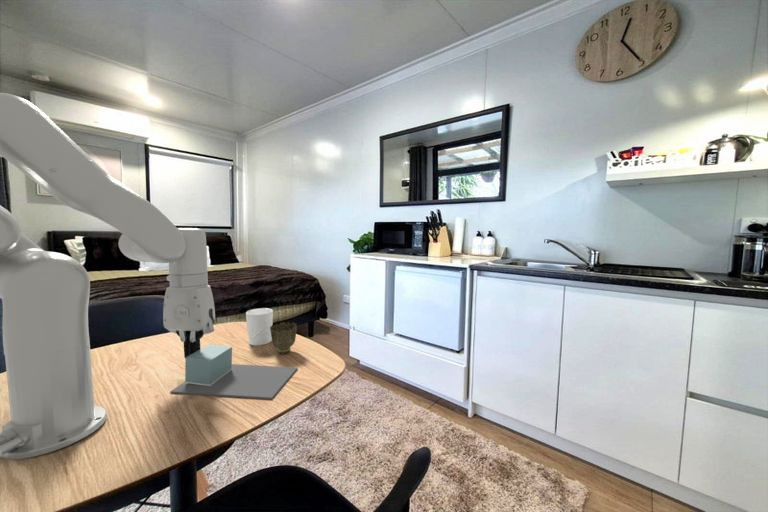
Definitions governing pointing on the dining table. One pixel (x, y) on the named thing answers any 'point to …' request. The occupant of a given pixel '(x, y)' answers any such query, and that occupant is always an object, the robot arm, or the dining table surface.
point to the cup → (283, 336)
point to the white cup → (259, 326)
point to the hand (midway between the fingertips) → (192, 356)
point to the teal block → (208, 364)
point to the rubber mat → (243, 382)
